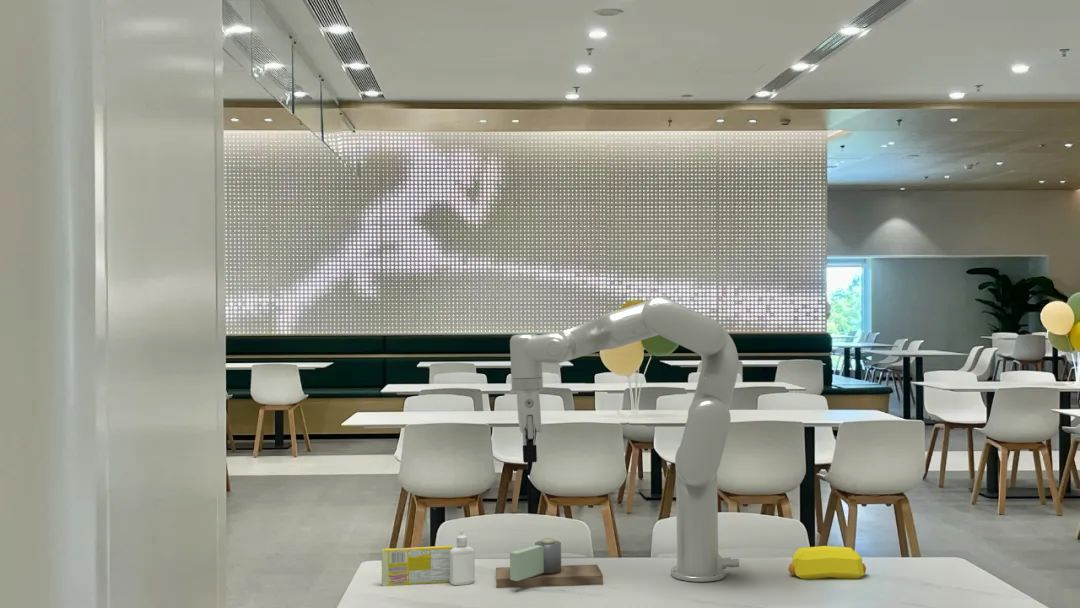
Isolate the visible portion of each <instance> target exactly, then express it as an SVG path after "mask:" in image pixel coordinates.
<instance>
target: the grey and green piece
mask: <svg viewBox="0 0 1080 608" xmlns="http://www.w3.org/2000/svg"><path fill="white" fill-rule="evenodd" d="M561 566H562V543H561V541H559V540H555V538H550V537H548V538H542V539H541V540H538V541H536V542H534V545H531V546H528V547H524V548H521V549H518V550H514V551H510V552H509V567H510V580H514V581H519V580H522V579H525V578H528V577H531V576H535V575H538V574H541V573H545V574H550V573H557V572H560V571H561Z"/></svg>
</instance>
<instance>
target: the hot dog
mask: <svg viewBox="0 0 1080 608" xmlns="http://www.w3.org/2000/svg"><path fill="white" fill-rule="evenodd" d="M791 561H792V562H791V563H790V564H789V566H788V569H787V570H788V571H789V573H790V574H791V575H793V576H797V577H798V578H800V579H802V580H811V579H813V580H815V579H824V578H825V579H826V578H837V579H860V578H861V577H863V576H865V573H866V572H867V566H866V564H865V563H863V559H862V557H861V555H860V554H859V553H858V552H857V551H856V550H854V549H853V548H852V547H846V546H832V545H829V546H828V545H821V546H810V547H798V549H797V550H796V551H795V552H794V553H793V555H792V560H791Z"/></svg>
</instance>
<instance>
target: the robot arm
mask: <svg viewBox="0 0 1080 608" xmlns="http://www.w3.org/2000/svg"><path fill="white" fill-rule="evenodd" d="M657 336H661V337H662V338H663V339H664V338H665V339H667V340H669V341H670V342H673V343H675V344H677V345H679V346H681V347H683V348H685V349H688V350H690V351H692V352H693V353H696V354H698V355H700V357H701V368H700V370H699V372H700V373H699V375H698V376H699V377H698V380H697V384H696V389H695V392H694V394H693V398H692V401H691V403H690V406H689V407H688V410H687V418H686V419H687V420H686V422H685V423H686V424H685V426H684V430H683V434H682V438H681V442H680V446H679V447H678V449H677V450H676V453H675V457H674V458H675V459H674V461H675V462H674V466H675V467H674V468H675V486H676V487H675V494H676V495H675V496H676V498H675V499H676V500H675V501H676V503H675V504H676V505H675V507H676V510H675V511H676V513H675V514H676V558H677V559H676V560H677V561H676V562H677V563H676V565H675V566H673V567H671V569H670V575H671V576H672V577H673V578H675V579H678V580H681V581H686V582H697V583H699V582H700V583H702V582H703V583H704V582H705V583H708V582H715V581H720V580H722V579H724V578H725V577H726V576H727V575H726V569H727V568H733V569H734V568H740V561H739V558H731V557H722V556H721V555H720V554H719V519H718V517H719V515H718V514H719V512H718V511H719V510H718V509H719V508H718V501H719V500H718V471H719V468H720V464H721V462H722V461H721V460H722V457H723V453H724V450H725V446H726V442H727V440H728V435H729V432H730V428H731V418H732V417H731V413H730V408H731V403H732V399H733V396H734V392H735V387H736V383H737V378H738V373H739V372H738V371H739V354H738V351H737V347H736V344H735V342H734V340H733V338H732V337H731V336H730V334H729V333H728V332H727V331H726V330H725V328H724V327H723V326H722V324H721V323H720V322H718V321H717V320H716V319H713V318H711V317H708V316H707V315H704V314H702V313H700V312H697V311H695V310H693V309H691V308H689V307H687V306H684V305H682V304H681V303H678V302H677V301H675V300H673V299H671V298H669V297H667V296H655V297H653V298H651V299H648V300H646V301H641V302H640V303H637V304H633V305H629V306H627V307H624V308H620V309H617V310H613V311H611V312H607V313H604V314H603V315H601V316H599V317H598V318H596V319H594V320H592V321H588V322H585V323H583V324H580V325H577V326H576V325H575V326H574V327H570V328H567V329H564V330H560V331H555V332H549V333H542V334H536V333H522V334H521V333H520V334H519V333H518V334H513V335H512V336H511V337H510V339H509V350H510V355H509V356H510V375H511V377H510V378H511V379H510V380H511V393H516V405H517V418H518V427H519V431H520V433H522V439H523V440H522V441H523V445H522V460H523V463H525V464H526V463H527V464H528V463H537V462H538V455H537V454H538V452H537V444H536V432H538V434H541V433H542V431H543V430H542V416H541V415H542V412H541V401H540V399H541V398H540V392H543V391H544V381H543V377H544V376H543V363H544V364H554V365H559V364H561V363H565V362H568V361H571V360H574V359H577V358H581V357H584V356H587V355H591V354H595V353H597V352H600V351H604V350H606V351H607V350H614V349H617V348H620V347H624V346H627V345H630V344H634V343H636V342H637V343H638V342H640V341H643V340H647V339H650V338H653V337H657Z"/></svg>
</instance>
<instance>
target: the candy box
mask: <svg viewBox="0 0 1080 608" xmlns="http://www.w3.org/2000/svg"><path fill="white" fill-rule="evenodd" d="M451 549H453V546H452V545H436V546H435V545H434V546H419V547H397V548H396V547H395V548H382V549H381V586H382V587H389V586H406V585H407V586H411V585H429V584H430V585H431V584H432V583H433V584H445V583H449V584H451V583H450V550H451Z"/></svg>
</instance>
